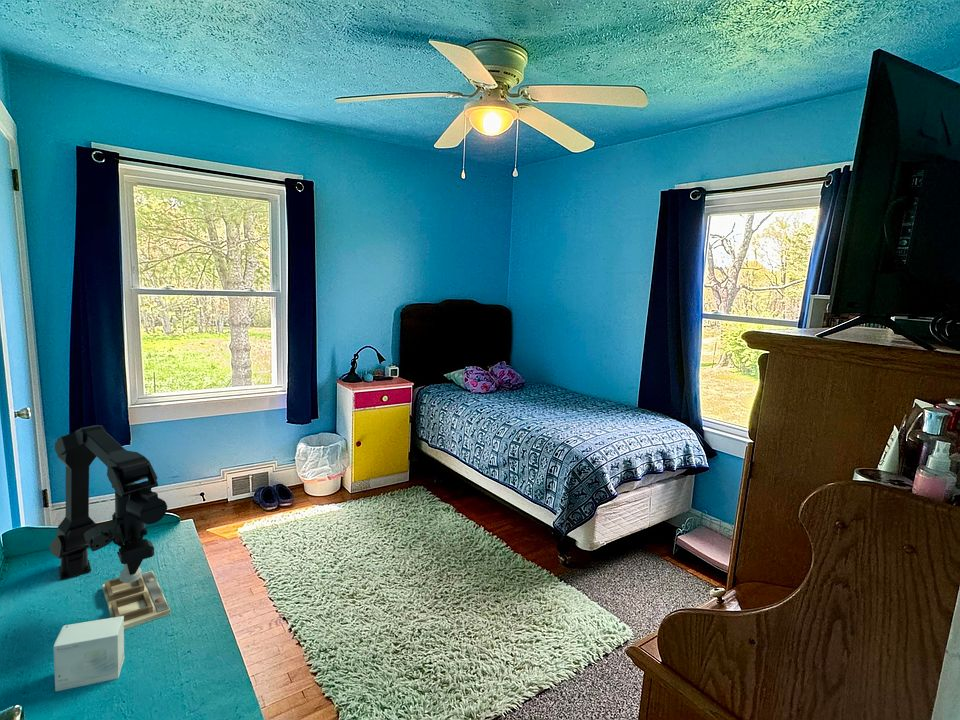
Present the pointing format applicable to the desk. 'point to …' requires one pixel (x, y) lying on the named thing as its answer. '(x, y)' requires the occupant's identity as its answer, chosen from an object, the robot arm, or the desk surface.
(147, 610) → the board
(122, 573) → the rook chess piece
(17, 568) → the desk surface
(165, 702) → the desk surface
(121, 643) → the skincare box
